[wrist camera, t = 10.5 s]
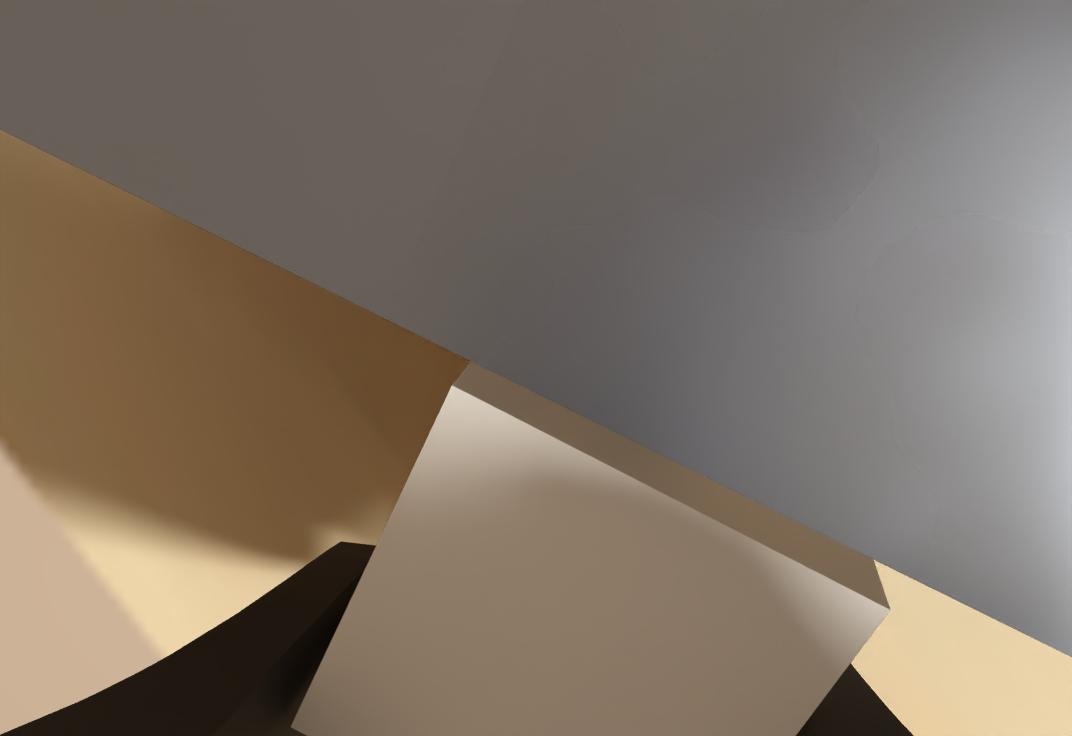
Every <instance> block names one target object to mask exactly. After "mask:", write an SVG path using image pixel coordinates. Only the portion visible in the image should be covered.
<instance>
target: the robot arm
mask: <svg viewBox="0 0 1072 736" xmlns="http://www.w3.org/2000/svg"><path fill="white" fill-rule="evenodd" d="M375 547H376V546H375V545H366V544H357V543H349V542H340V543H338V544H336V545H335V546H333V547H332V548H330V549H329V550H327V551H326V552H324V553H323V554H322V555H320V556H319V557H317V558H316V559H314V560H313V561H312V562H310V563H309V564H307V565H306V566H305V567H303V568H302V569H300V570H299V571H298V572H296V573H295V574H293V575H292V576H291V577H289V578H288V579H286V580H285V581H284V582H282V583H281V584H279V585H278V586H276V587H275V588H274V589H272V590H271V591H269V592H268V593H266V594H265V595H263V596H262V597H260V598H259V599H258V600H256V601H255V602H253V603H252V604H250V605H249V606H247V607H246V608H244V609H243V610H242V611H240V612H239V613H237V614H236V615H234V616H232V617H231V618H229V619H228V620H226V621H224V622H223V623H221V624H219V625H218V626H216V627H215V628H213V629H211V630H210V631H208V632H206V633H205V634H203V635H202V636H200V637H198V638H197V639H195V640H194V641H192V642H190V643H189V644H187V645H185V646H184V647H182V648H181V649H179V650H177V651H176V652H174V653H172V654H171V655H169V656H167V657H165V658H164V659H162V660H160V661H158V662H157V663H155V664H153V665H151V666H149V667H147V668H146V669H144V670H142V671H140V672H138V673H136V674H134V675H132V676H130V677H128V678H126V679H124V680H122V681H120V682H118V683H116V684H114V685H112V686H110V687H108V688H106V689H104V690H102V691H100V692H98V693H96V694H94V695H92V696H90V697H88V698H86V699H84V700H81V701H79V702H77V703H75V704H72V705H70V706H68V707H65V708H63V709H60V710H58V711H56V712H53V713H51V714H48V715H46V716H44V717H41V718H39V719H37V720H34V721H32V722H29V723H27V724H25V725H22V726H20V727H18V728H15V729H13V730H10V731H8V732H6V733H3V734H1V735H0V736H307V735H305V734H303V733H301V732H299V731H297V730H295V729H293V728H291V725H292V723H293V721H294V719H295V717H296V714H297V712H298V710H299V708H300V706H301V704H302V702H303V700H304V697H305V695H306V693H307V691H308V689H309V687H310V685H311V683H312V681H313V678H314V676H315V674H316V672H317V670H318V668H319V666H320V664H321V662H322V659H323V657H324V655H325V653H326V651H327V649H328V647H329V645H330V642H331V640H332V638H333V636H334V634H335V632H336V630H337V628H338V626H339V623H340V621H341V619H342V617H343V615H344V613H345V611H346V609H347V606H348V604H349V602H350V600H351V598H352V596H353V594H354V592H355V590H356V587H357V585H358V583H359V581H360V579H361V577H362V575H363V573H364V570H365V568H366V566H367V564H368V562H369V560H370V558H371V556H372V554H373V551H374V549H375ZM796 736H913V735H912V734H911V732H910V731H909V730H908V729H907V728H906V727H905V726H904V725H903V724H902V723H901V722H900V721H899V720H898V719H897V717H896V716H895V715H894V714H893V713H892V712H891V711H890V710H889V709H888V707H887V706H886V705H885V704H884V703H883V702H882V700H881V699H880V698H879V697H878V696H877V695H876V693H875V692H874V691H873V690H872V689H871V687H870V686H869V685H868V684H867V683H866V682H865V680H864V679H863V678H862V677H861V676H860V674H859V673H858V672H857V671H856V669H855V668H854V667H853V666H852V664H851V663H850V664H849V666H848V667H847V668H846V670H845V671H844V672H843V674H842V675H841V676H840V678H839V679H838V680H837V682H836V683H835V684H834V686H833V687H832V688H831V690H830V691H829V692H828V694H827V695H826V696H825V697H824V699H823V700H822V701H821V703H820V704H819V705H818V707H817V708H816V709H815V711H814V712H813V713H812V715H811V716H810V717H809V719H808V720H807V721H806V723H805V724H804V725H803V727H802V728H801V729H800V731H799V732H798V733H797V735H796Z"/></svg>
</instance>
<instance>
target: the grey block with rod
mask: <svg viewBox="0 0 1072 736" xmlns="http://www.w3.org/2000/svg"><path fill="white" fill-rule="evenodd" d="M889 611H890V607H889V604H888V601H887V598H886V595H885V592H884V590H883V587H882V584H881V581H880V578H879V575H878V572H877V569H876V566H875V563H874V560H873V559H872V558H870V557H868V556H865V555H863V554H861V553H859V552H857V551H855V550H853V549H851V548H849V547H847V546H845V545H843V544H841V543H839V542H837V541H835V540H833V539H831V538H829V537H827V536H825V535H823V534H821V533H819V532H817V531H815V530H813V529H811V528H809V527H807V526H805V525H803V524H800V523H798V522H796V521H794V520H792V519H790V518H788V517H786V516H784V515H782V514H780V513H778V512H776V511H774V510H772V509H770V508H768V507H766V506H764V505H762V504H760V503H758V502H756V501H754V500H752V499H750V498H748V497H746V496H744V495H742V494H740V493H738V492H736V491H733V490H731V489H729V488H727V487H725V486H723V485H721V484H719V483H717V482H715V481H713V480H711V479H709V478H707V477H705V476H703V475H701V474H699V473H697V472H695V471H693V470H691V469H689V468H687V467H685V466H683V465H681V464H679V463H677V462H675V461H673V460H671V459H669V458H666V457H664V456H662V455H660V454H658V453H656V452H654V451H652V450H650V449H648V448H646V447H644V446H642V445H640V444H638V443H636V442H634V441H632V440H630V439H628V438H626V437H624V436H622V435H620V434H618V433H616V432H614V431H612V430H610V429H608V428H606V427H604V426H601V425H599V424H597V423H595V422H593V421H591V420H589V419H587V418H585V417H583V416H581V415H579V414H577V413H575V412H573V411H571V410H569V409H567V408H565V407H563V406H561V405H559V404H557V403H555V402H553V401H551V400H549V399H547V398H545V397H543V396H541V395H539V394H537V393H534V392H532V391H530V390H528V389H526V388H524V387H522V386H520V385H518V384H516V383H514V382H512V381H510V380H508V379H506V378H504V377H502V376H500V375H498V374H496V373H494V372H492V371H490V370H488V369H486V368H484V367H482V366H480V365H478V364H476V363H474V362H472V361H470V363H469V364H468V365H467V366H466V368H465V369H464V370H463V372H462V373H461V374H460V376H459V377H458V378H457V379H456V381H455V382H454V383H453V385H452V386H451V388H450V390H449V393H448V395H447V397H446V399H445V401H444V403H443V405H442V407H441V410H440V412H439V414H438V416H437V418H436V420H435V422H434V424H433V426H432V429H431V431H430V433H429V435H428V437H427V439H426V441H425V443H424V446H423V448H422V450H421V452H420V454H419V456H418V458H417V460H416V462H415V465H414V467H413V469H412V471H411V473H410V475H409V477H408V479H407V482H406V484H405V486H404V488H403V490H402V492H401V494H400V496H399V498H398V501H397V503H396V505H395V507H394V509H393V511H392V513H391V515H390V518H389V520H388V522H387V524H386V526H385V528H384V530H383V532H382V534H381V537H380V539H379V541H378V543H377V545H376V547H375V549H374V551H373V554H372V556H371V558H370V560H369V562H368V564H367V566H366V568H365V570H364V573H363V575H362V577H361V579H360V581H359V583H358V585H357V587H356V590H355V592H354V594H353V596H352V598H351V600H350V602H349V604H348V606H347V609H346V611H345V613H344V615H343V617H342V619H341V621H340V623H339V626H338V628H337V630H336V632H335V634H334V636H333V638H332V640H331V642H330V645H329V647H328V649H327V651H326V653H325V655H324V657H323V659H322V662H321V664H320V666H319V668H318V670H317V672H316V674H315V676H314V678H313V681H312V683H311V685H310V687H309V689H308V691H307V693H306V695H305V697H304V700H303V702H302V704H301V706H300V708H299V710H298V712H297V714H296V717H295V719H294V721H293V723H292V725H291V728H293V729H295V730H297V731H299V732H301V733H303V734H305V735H307V736H796V735H797V733H798V732H799V731H800V729H801V728H802V727H803V725H804V724H805V723H806V721H807V720H808V719H809V717H810V716H811V715H812V713H813V712H814V711H815V709H816V708H817V707H818V705H819V704H820V703H821V701H822V700H823V699H824V697H825V696H826V695H827V694H828V692H829V691H830V690H831V688H832V687H833V686H834V684H835V683H836V682H837V680H838V679H839V678H840V676H841V675H842V674H843V672H844V671H845V670H846V668H847V667H848V666H849V664H850V663H851V662H852V660H853V659H854V658H855V656H856V655H857V654H858V652H859V651H860V650H861V648H862V647H863V646H864V644H865V643H866V642H867V640H868V639H869V638H870V636H871V635H872V634H873V632H874V631H875V630H876V628H877V627H878V626H879V624H880V623H881V622H882V620H883V619H884V618H885V616H886V615H887V614H888V612H889Z"/></svg>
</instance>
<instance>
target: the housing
mask: <svg viewBox="0 0 1072 736" xmlns="http://www.w3.org/2000/svg"><path fill="white" fill-rule="evenodd" d="M0 130H2V131H4V132H7V133H9V134H11V135H13V136H15V137H17V138H19V139H21V140H23V141H25V142H27V143H29V144H31V145H33V146H35V147H37V148H39V149H41V150H43V151H45V152H47V153H49V154H51V155H53V156H55V157H57V158H59V159H61V160H63V161H65V162H67V163H69V164H72V165H74V166H76V167H78V168H80V169H82V170H84V171H86V172H88V173H90V174H92V175H94V176H96V177H98V178H100V179H102V180H104V181H106V182H108V183H110V184H112V185H114V186H116V187H118V188H120V189H122V190H124V191H126V192H128V193H130V194H132V195H134V196H136V197H139V198H141V199H143V200H145V201H147V202H149V203H151V204H153V205H155V206H157V207H159V208H161V209H163V210H165V211H167V212H169V213H171V214H173V215H175V216H177V217H179V218H181V219H183V220H185V221H187V222H189V223H191V224H193V225H195V226H197V227H199V228H201V229H203V230H206V231H208V232H210V233H212V234H214V235H216V236H218V237H220V238H222V239H224V240H226V241H228V242H230V243H232V244H234V245H236V246H238V247H240V248H242V249H244V250H246V251H248V252H250V253H252V254H254V255H256V256H258V257H260V258H262V259H264V260H266V261H268V262H271V263H273V264H275V265H277V266H279V267H281V268H283V269H285V270H287V271H289V272H291V273H293V274H295V275H297V276H299V277H301V278H303V279H305V280H307V281H309V282H311V283H313V284H315V285H317V286H319V287H321V288H323V289H325V290H327V291H329V292H331V293H333V294H335V295H338V296H340V297H342V298H344V299H346V300H348V301H350V302H352V303H354V304H356V305H358V306H360V307H362V308H364V309H366V310H368V311H370V312H372V313H374V314H376V315H378V316H380V317H382V318H384V319H386V320H388V321H390V322H392V323H394V324H396V325H398V326H400V327H402V328H405V329H407V330H409V331H411V332H413V333H415V334H417V335H419V336H421V337H423V338H425V339H427V340H429V341H431V342H433V343H435V344H437V345H439V346H441V347H443V348H445V349H447V350H449V351H451V352H453V353H455V354H457V355H459V356H461V357H463V358H465V359H467V360H470V361H472V362H474V363H476V364H478V365H480V366H482V367H484V368H486V369H488V370H490V371H492V372H494V373H496V374H498V375H500V376H502V377H504V378H506V379H508V380H510V381H512V382H514V383H516V384H518V385H520V386H522V387H524V388H526V389H528V390H530V391H532V392H534V393H537V394H539V395H541V396H543V397H545V398H547V399H549V400H551V401H553V402H555V403H557V404H559V405H561V406H563V407H565V408H567V409H569V410H571V411H573V412H575V413H577V414H579V415H581V416H583V417H585V418H587V419H589V420H591V421H593V422H595V423H597V424H599V425H601V426H604V427H606V428H608V429H610V430H612V431H614V432H616V433H618V434H620V435H622V436H624V437H626V438H628V439H630V440H632V441H634V442H636V443H638V444H640V445H642V446H644V447H646V448H648V449H650V450H652V451H654V452H656V453H658V454H660V455H662V456H664V457H666V458H669V459H671V460H673V461H675V462H677V463H679V464H681V465H683V466H685V467H687V468H689V469H691V470H693V471H695V472H697V473H699V474H701V475H703V476H705V477H707V478H709V479H711V480H713V481H715V482H717V483H719V484H721V485H723V486H725V487H727V488H729V489H731V490H733V491H736V492H738V493H740V494H742V495H744V496H746V497H748V498H750V499H752V500H754V501H756V502H758V503H760V504H762V505H764V506H766V507H768V508H770V509H772V510H774V511H776V512H778V513H780V514H782V515H784V516H786V517H788V518H790V519H792V520H794V521H796V522H798V523H800V524H803V525H805V526H807V527H809V528H811V529H813V530H815V531H817V532H819V533H821V534H823V535H825V536H827V537H829V538H831V539H833V540H835V541H837V542H839V543H841V544H843V545H845V546H847V547H849V548H851V549H853V550H855V551H857V552H859V553H861V554H863V555H865V556H868V557H870V558H872V559H874V560H876V561H878V562H880V563H882V564H884V565H886V566H888V567H890V568H892V569H894V570H896V571H898V572H900V573H902V574H904V575H906V576H908V577H910V578H912V579H914V580H916V581H918V582H920V583H922V584H924V585H926V586H928V587H930V588H932V589H935V590H937V591H939V592H941V593H943V594H945V595H947V596H949V597H951V598H953V599H955V600H957V601H959V602H961V603H963V604H965V605H967V606H969V607H971V608H973V609H975V610H977V611H979V612H981V613H983V614H985V615H987V616H989V617H991V618H993V619H995V620H997V621H999V622H1002V623H1004V624H1006V625H1008V626H1010V627H1012V628H1014V629H1016V630H1018V631H1020V632H1022V633H1024V634H1026V635H1028V636H1030V637H1032V638H1034V639H1036V640H1038V641H1040V642H1042V643H1044V644H1046V645H1048V646H1050V647H1052V648H1054V649H1056V650H1058V651H1060V652H1062V653H1064V654H1067V655H1069V656H1071V657H1072V0H0Z"/></svg>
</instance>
